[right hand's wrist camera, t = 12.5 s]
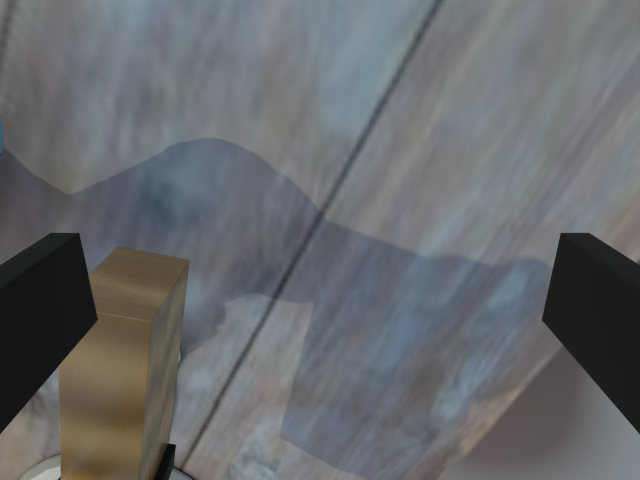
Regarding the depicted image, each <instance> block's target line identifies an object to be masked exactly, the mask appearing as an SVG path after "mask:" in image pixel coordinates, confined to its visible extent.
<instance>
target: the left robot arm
mask: <svg viewBox="0 0 640 480" xmlns="http://www.w3.org/2000/svg"><path fill="white" fill-rule="evenodd" d="M2 148H3V126H2V121H1V117H0V156H1V152H2ZM175 449H176V445H174V444H167V447H166V449H165V452H164V455H163V457H162V460H161V462H160V465H159V468H158V470H157V473H156V476H155V478H154V480H169V478H170V475H171V472H172V469H173V465H174V457H175ZM58 480H61V476H60V477H59V479H58Z"/></svg>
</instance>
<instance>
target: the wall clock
mask: <svg viewBox="0 0 640 480" xmlns="http://www.w3.org/2000/svg"><path fill="white" fill-rule="evenodd" d="M60 476H61V475H60V455H57V456H54V457H50V458H48V459H46V460H44V461H43V462H41V463H39V464H38V465H36V466H34V467H32V468H31V469H29V470H28V471H27V472H26V473H25V474H24V475H23V477H22V478H21V479H20V480H58V479H59V477H60ZM169 480H192V479H191V478H190V477H188V476H187V475H185V474H183V473H181V472H180V471H178V470H176V469H174V468H173V469H172V472H171V475H170V478H169Z"/></svg>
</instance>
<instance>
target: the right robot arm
mask: <svg viewBox="0 0 640 480" xmlns="http://www.w3.org/2000/svg"><path fill="white" fill-rule="evenodd" d="M97 321H98V317H97V313H96V308H95V303H94V299H93V294H92V290H91V285H90V281H89V276H88V271H87V267H86V262H85V258H84V253H83V249H82V244H81V239H80V235H79V233H50V234H49V235H47V236H45V237H44V238H42V239H41V240H39V241H38V242H36V243H34V244H33V245H31V246H30V247H28V248H27V249H25V250H24V251H22V252H20V253H19V254H17V255H16V256H14V257H13V258H11V259H9V260H8V261H6V262H5V263H3V264H2V265H0V434H1V433H2V431H3V430H4V429H5V428H6V427H7V426H8V424H9V423H10V422H11V421H12V420H13V419H14V417H15V416H16V415H17V414H18V413H19V412H20V410H21V409H22V408H23V407H24V406H25V405H26V403H27V402H28V401H29V400H30V399H31V398H32V396H33V395H34V394H35V393H36V392H37V391H38V389H39V388H40V387H41V386H42V385H43V384H44V382H45V381H46V380H47V379H48V378H49V377H50V375H51V374H52V373H53V372H54V371H55V370H56V368H57V367H58V366H59V365H60V364H61V363H62V361H63V360H64V359H65V358H66V357H67V356H68V354H69V353H70V352H71V351H72V350H73V349H74V347H75V346H76V345H77V344H78V343H79V342H80V341H81V339H82V338H83V337H84V336H85V335H86V334H87V332H88V331H89V330H90V329H91V328H92V327H93V325H94V324H95V323H96V322H97ZM542 321H543V322H544V323H545V324H546V325H547V327H548V328H549V329H550V330H551V331H552V332H553V334H554V335H555V336H556V337H557V338H558V339H559V341H560V342H561V343H562V344H563V345H564V346H565V347H566V349H567V350H568V351H569V352H570V353H571V354H572V356H573V357H574V358H575V359H576V360H577V361H578V363H579V364H580V365H581V366H582V367H583V368H584V370H585V371H586V372H587V373H588V374H589V375H590V377H591V378H592V379H593V380H594V381H595V382H596V384H597V385H598V386H599V387H600V388H601V389H602V391H603V392H604V393H605V394H606V395H607V396H608V398H609V399H610V400H611V401H612V402H613V403H614V405H615V406H616V407H617V408H618V409H619V410H620V412H621V413H622V414H623V415H624V416H625V417H626V419H627V420H628V421H629V422H630V423H631V424H632V426H633V427H634V428H635V429H636V430H637V431H638V432H639V434H640V265H638V264H637V263H635V262H634V261H632V260H631V259H629V258H627V257H626V256H624V255H623V254H621V253H620V252H618V251H616V250H615V249H613V248H612V247H610V246H609V245H607V244H606V243H604V242H602V241H601V240H599V239H598V238H596V237H595V236H593V235H591V234H590V233H561V235H560V239H559V244H558V249H557V253H556V258H555V262H554V267H553V271H552V276H551V281H550V285H549V290H548V294H547V299H546V303H545V308H544V313H543V317H542Z"/></svg>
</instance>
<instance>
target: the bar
mask: <svg viewBox="0 0 640 480" xmlns="http://www.w3.org/2000/svg"><path fill="white" fill-rule="evenodd" d="M188 269H189V260H187V259H181V258H176V257H171V256H165V255H160V254H155V253H149V252H144V251H139V250H133V249H128V248H123V247H117V248H116V249H115V250H114V251H113V252H112V253H111V254H110V255H109V256H108V257H107V258H106V259H105V260H104V261H103V262H102V263H101V264H99V265H98V266H97V267H96V268H95V269H94V270H93V271H92V272H91V273H90V274H89V275H88V276H89V281H90V285H91V290H92V294H93V299H94V303H95V308H96V313H97V317H98V321H97V322H96V323H95V324H94V325H93V327H92V328H91V329H90V330H89V331H88V332H87V334H86V335H85V336H84V337H83V338H82V339H81V341H80V342H79V343H78V344H77V345H76V346H75V347H74V349H73V350H72V351H71V352H70V353H69V354H68V356H67V357H66V358H65V359H64V360H63V361H62V363H61V364H60V365H59V366H58V368H59V422H60V475H61V480H154V478H155V476H156V473H157V470H158V468H159V465H160V462H161V460H162V457H163V455H164V452H165V449H166V447H167V444H169V440H170V431H171V422H172V413H173V404H174V395H175V386H176V377H177V368H178V359H179V350H180V341H181V332H182V323H183V314H184V305H185V296H186V287H187V278H188Z"/></svg>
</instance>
